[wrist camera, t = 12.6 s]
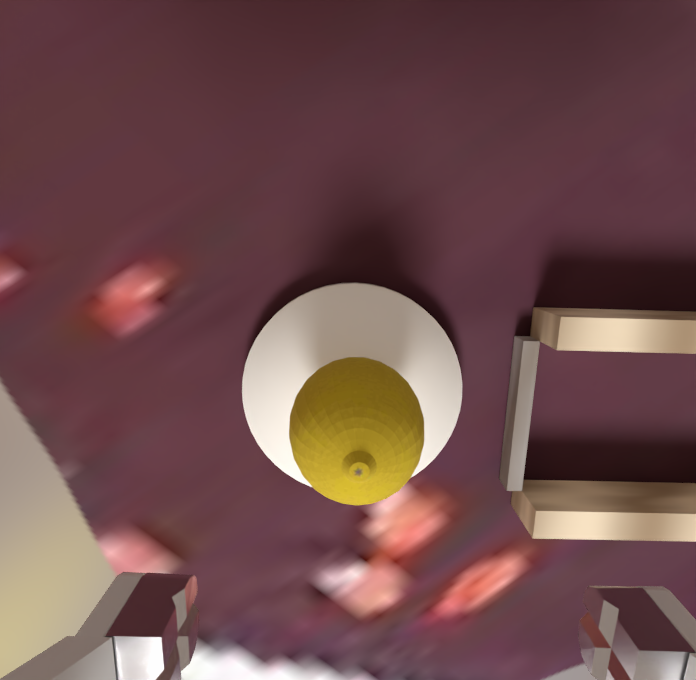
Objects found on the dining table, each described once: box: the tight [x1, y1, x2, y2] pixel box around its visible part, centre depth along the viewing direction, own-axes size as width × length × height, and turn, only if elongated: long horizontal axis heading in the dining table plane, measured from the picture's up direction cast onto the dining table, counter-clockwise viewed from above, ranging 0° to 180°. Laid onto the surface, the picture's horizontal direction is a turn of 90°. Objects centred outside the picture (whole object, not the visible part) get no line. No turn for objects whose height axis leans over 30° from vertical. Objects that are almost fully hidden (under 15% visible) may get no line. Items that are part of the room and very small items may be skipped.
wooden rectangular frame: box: [499, 307, 696, 541], centre depth 23 cm, size 14×11×4 cm
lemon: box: [289, 357, 424, 505], centre depth 19 cm, size 6×6×8 cm
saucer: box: [242, 282, 462, 487], centre depth 24 cm, size 11×11×1 cm
